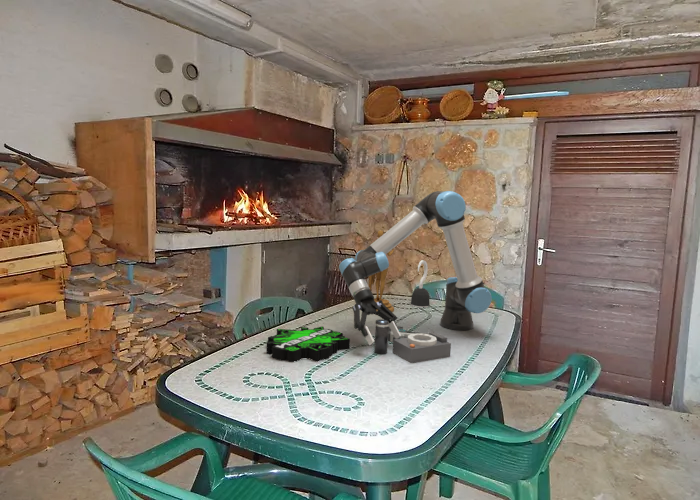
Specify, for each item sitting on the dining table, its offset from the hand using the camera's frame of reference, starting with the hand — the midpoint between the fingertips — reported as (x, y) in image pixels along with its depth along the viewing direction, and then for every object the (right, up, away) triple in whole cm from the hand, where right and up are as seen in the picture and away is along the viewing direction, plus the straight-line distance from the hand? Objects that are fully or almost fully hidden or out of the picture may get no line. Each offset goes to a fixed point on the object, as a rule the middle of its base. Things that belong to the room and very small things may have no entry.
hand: (385, 340), depth 176 cm
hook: (+25, +3, +83) cm, 86 cm away
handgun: (+12, -4, +20) cm, 24 cm away
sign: (-31, -4, +5) cm, 32 cm away
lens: (-2, -5, +2) cm, 6 cm away
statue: (+1, +3, +68) cm, 68 cm away
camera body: (+14, -6, +2) cm, 15 cm away
